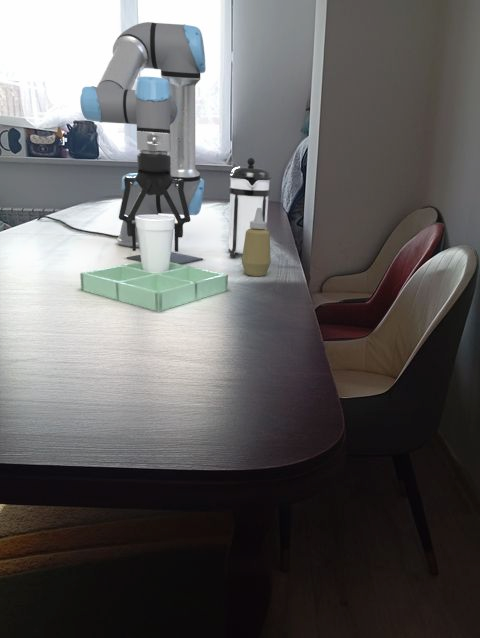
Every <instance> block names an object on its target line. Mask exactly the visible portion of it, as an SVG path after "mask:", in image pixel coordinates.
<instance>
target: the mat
mask: <svg viewBox="0 0 480 638" xmlns="http://www.w3.org/2000/svg"><path fill="white" fill-rule="evenodd" d="M126 259H128V260H133V261H136V262H141V256H140V254H137V255H136V254H135V255H130V256H127V257H126ZM203 260H204V258H202V257H197V256H192V255H188V254H183V253H179V252H174V251H171V255H170V262H171V263H176V264H181V265H185V264H189V263H194V262H200V261H203Z"/></svg>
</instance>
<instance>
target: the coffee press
mask: <svg viewBox="0 0 480 638" xmlns="http://www.w3.org/2000/svg"><path fill="white" fill-rule="evenodd" d="M246 162H247V164H248V165H247V166H237V167H234V168H233V169H232V170H231V172H230V174H229V180H230V186H229V195H230V196H229V216H228V217H229V219H228V223H229V224H228V249H227V251H228V253H230V254H229V258H231V259H236V257H237V256H238V255H240V254H241V255H243V248H244V242H245V235H246V231H247V230H248V229H251V228H250V221H254V218H255V214H256V210H257V208H262V215H263V221H264V222H267V223H268V210H269V196H270V182H271V179H272V177H271V176H270V173H269V171H268V170H267V169H266V168H262V167H256V166H254V165H255V159H254V158H253V157H249V158H248V159H247V161H246Z"/></svg>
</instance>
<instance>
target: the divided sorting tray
mask: <svg viewBox="0 0 480 638" xmlns="http://www.w3.org/2000/svg"><path fill="white" fill-rule="evenodd" d="M79 276H80V277H79V278H80V290H81V291H84V292H87V293H90V294H94V295H98V296H101V297H105V298H109V299H111V300H116V301H119V302H122V303H126V304H130V305H134V306H137V307H140V308H144V309H147V310H151V311H154V312H158V313H159V312H163V311H167V310H169V309H173V308H177V307H179V306H181V305H186V304H189V303H192V302H195V301H199V300H201V299H204V298H208V297H212V296H214V295H217V294H221V293H225V292H228V285H229V284H228V283H229V274H227V273H222V272H217V271H212V270H208V269H204V268H200V267H195V266H189V265H185V264H176V263H171V262H170V263H169V271H164V272H160V273H153V272H149V271H145V270H143V268H142V262H141V261H136V262H131V263H126V264H120V265H115V266H110V267H104V268H99V269H95V270H89V271H83V272H80V273H79Z"/></svg>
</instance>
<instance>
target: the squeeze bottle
mask: <svg viewBox="0 0 480 638" xmlns="http://www.w3.org/2000/svg"><path fill="white" fill-rule="evenodd" d="M267 227H268V221H267V222H264V221H263V215H262V208H257V210H256V214H255V218H254V221H250V228H251V229H248V230H247V231H246V235H245V242H244V248H243V254H241V263H242V267H243V271H244V274H245V275H247V276H251V277H263V276H266V275H267V272H268V269H269V267H270V264H271V262H272V260H271V258H272V257H271V233H270V231H269V230H268V228H267Z"/></svg>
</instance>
